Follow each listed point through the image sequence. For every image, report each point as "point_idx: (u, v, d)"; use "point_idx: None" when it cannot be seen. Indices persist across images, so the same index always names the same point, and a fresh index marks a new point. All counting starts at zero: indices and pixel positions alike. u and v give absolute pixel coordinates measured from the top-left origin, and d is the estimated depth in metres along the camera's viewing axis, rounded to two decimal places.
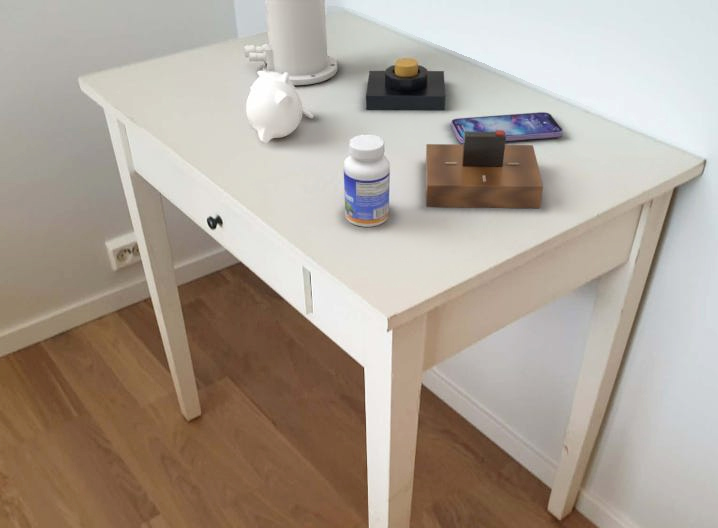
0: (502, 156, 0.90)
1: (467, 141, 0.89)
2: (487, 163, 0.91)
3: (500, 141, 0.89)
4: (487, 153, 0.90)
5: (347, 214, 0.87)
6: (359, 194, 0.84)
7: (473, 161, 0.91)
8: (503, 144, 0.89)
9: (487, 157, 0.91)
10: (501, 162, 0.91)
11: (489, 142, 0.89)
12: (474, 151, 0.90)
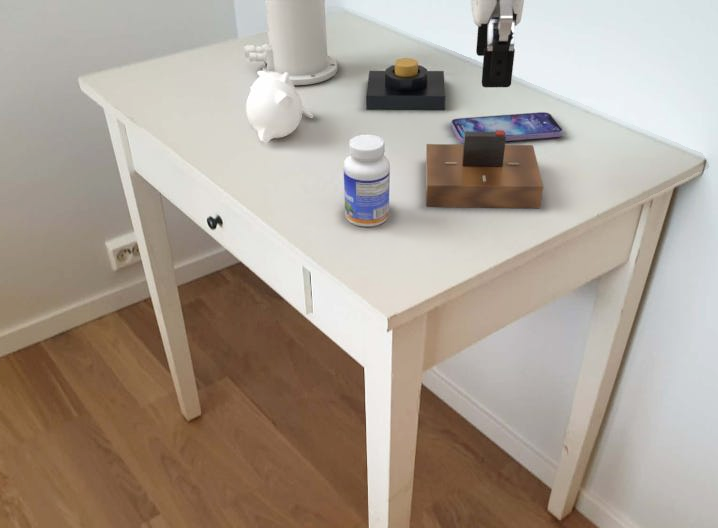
0: (502, 156, 0.90)
1: (467, 141, 0.89)
2: (487, 163, 0.91)
3: (500, 141, 0.89)
4: (487, 153, 0.90)
5: (347, 214, 0.87)
6: (359, 194, 0.84)
7: (473, 161, 0.91)
8: (503, 144, 0.89)
9: (487, 157, 0.91)
10: (501, 162, 0.91)
11: (489, 142, 0.89)
12: (474, 151, 0.90)
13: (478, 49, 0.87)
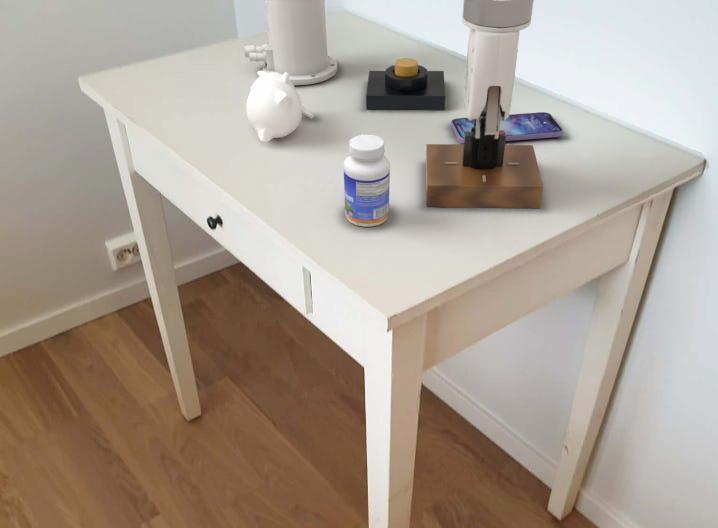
0: (502, 156, 0.90)
1: (467, 141, 0.89)
2: None
3: (500, 141, 0.89)
4: None
5: (347, 214, 0.87)
6: (359, 194, 0.84)
7: None
8: (503, 144, 0.89)
9: None
10: (501, 162, 0.91)
11: None
12: None
13: None
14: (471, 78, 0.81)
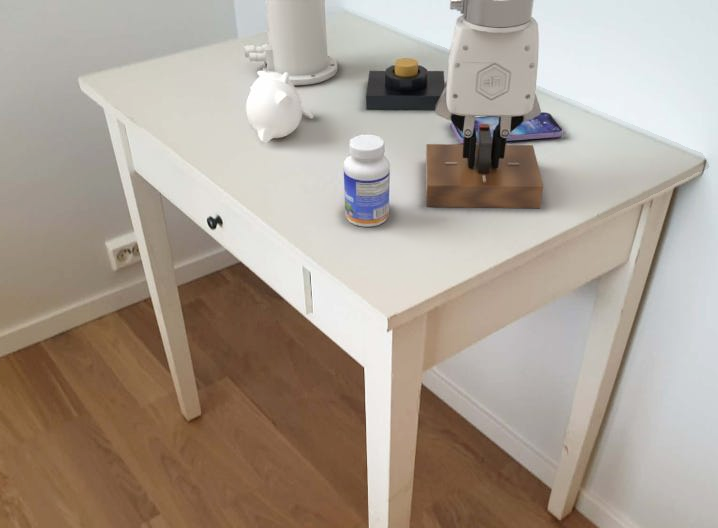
0: None
1: (491, 147, 0.88)
2: None
3: None
4: None
5: (347, 214, 0.87)
6: (359, 194, 0.84)
7: None
8: None
9: None
10: None
11: None
12: None
13: (474, 162, 0.90)
14: (531, 73, 0.81)
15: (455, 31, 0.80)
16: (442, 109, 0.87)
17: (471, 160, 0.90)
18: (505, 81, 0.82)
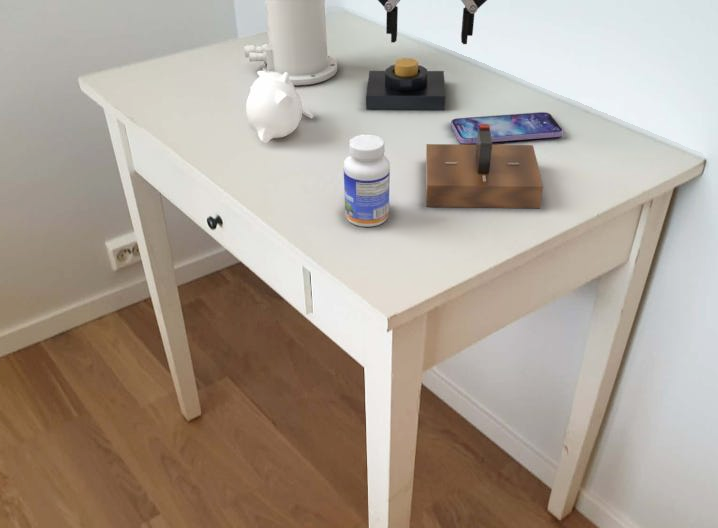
0: None
1: (491, 147, 0.88)
2: None
3: None
4: None
5: (347, 214, 0.87)
6: (359, 194, 0.84)
7: None
8: None
9: None
10: None
11: None
12: None
13: (395, 36, 0.99)
14: None
15: None
16: None
17: (393, 34, 0.98)
18: None
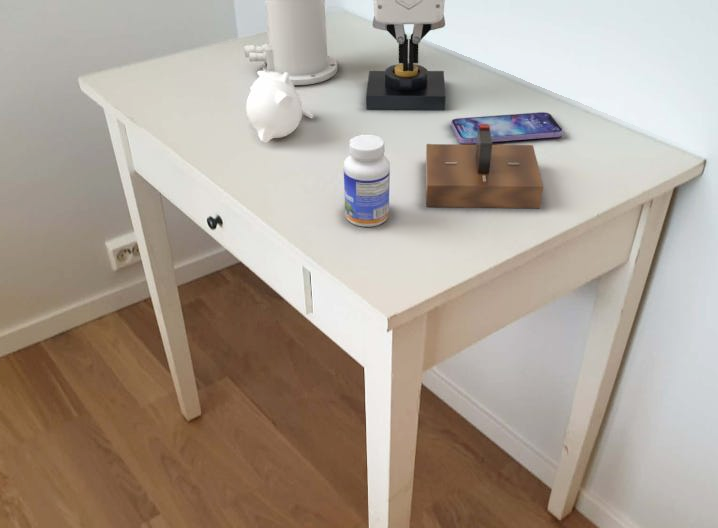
0: None
1: (491, 147, 0.88)
2: None
3: None
4: None
5: (347, 214, 0.87)
6: (359, 194, 0.84)
7: None
8: None
9: None
10: None
11: None
12: None
13: (407, 66, 1.10)
14: None
15: None
16: (377, 22, 1.07)
17: (405, 64, 1.10)
18: None
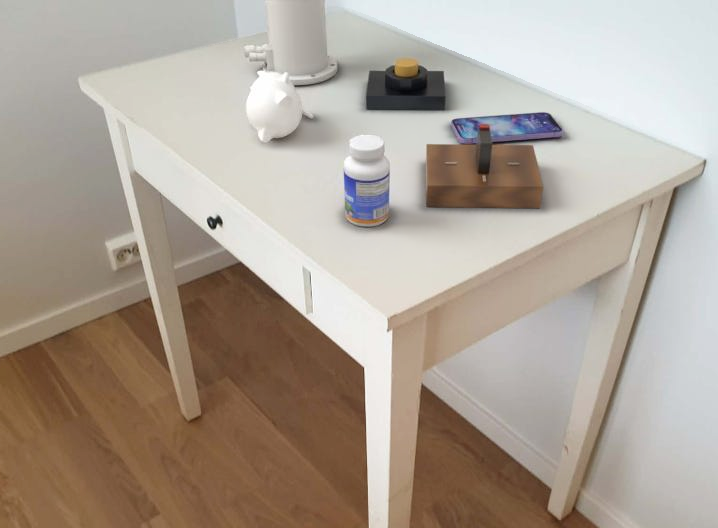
0: None
1: (491, 147, 0.88)
2: None
3: None
4: None
5: (347, 214, 0.87)
6: (359, 194, 0.84)
7: None
8: None
9: None
10: None
11: None
12: None
13: None
14: None
15: None
16: None
17: None
18: None
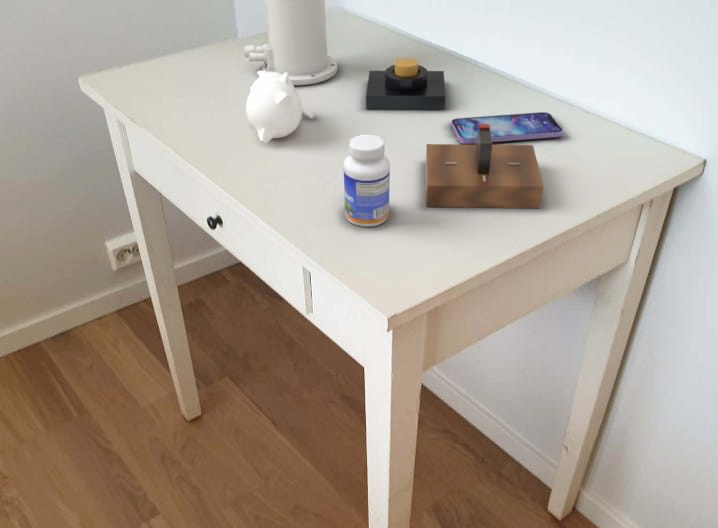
0: None
1: (491, 147, 0.88)
2: None
3: None
4: None
5: (347, 214, 0.87)
6: (359, 194, 0.84)
7: None
8: None
9: None
10: None
11: None
12: None
13: None
14: None
15: None
16: None
17: None
18: None
